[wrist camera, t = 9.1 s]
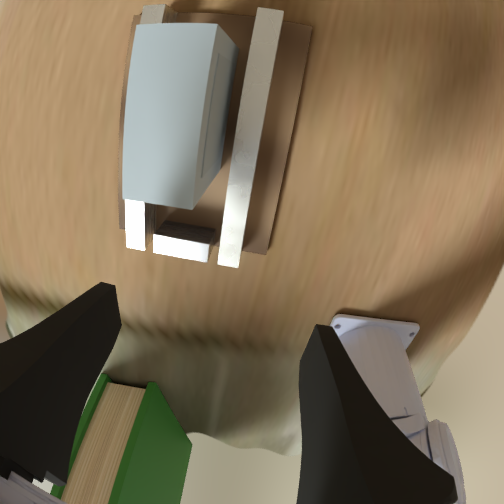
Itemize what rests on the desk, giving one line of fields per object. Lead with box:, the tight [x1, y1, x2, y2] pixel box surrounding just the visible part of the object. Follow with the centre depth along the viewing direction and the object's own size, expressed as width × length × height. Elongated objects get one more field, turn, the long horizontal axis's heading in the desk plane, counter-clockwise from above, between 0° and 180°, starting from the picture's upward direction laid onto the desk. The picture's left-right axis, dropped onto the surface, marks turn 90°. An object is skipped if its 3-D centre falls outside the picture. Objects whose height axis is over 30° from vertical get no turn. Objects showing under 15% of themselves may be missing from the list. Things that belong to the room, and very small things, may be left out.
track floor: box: [118, 13, 312, 255], centre depth 15 cm, size 14×10×1 cm
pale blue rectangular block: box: [122, 23, 239, 210], centre depth 12 cm, size 7×3×6 cm, turn 171°
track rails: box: [125, 4, 284, 268], centre depth 14 cm, size 14×7×2 cm, turn 171°
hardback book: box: [50, 373, 192, 504], centre depth 23 cm, size 18×7×24 cm, turn 4°
